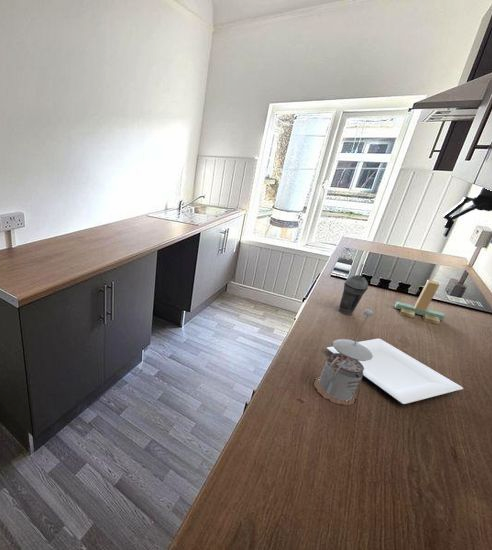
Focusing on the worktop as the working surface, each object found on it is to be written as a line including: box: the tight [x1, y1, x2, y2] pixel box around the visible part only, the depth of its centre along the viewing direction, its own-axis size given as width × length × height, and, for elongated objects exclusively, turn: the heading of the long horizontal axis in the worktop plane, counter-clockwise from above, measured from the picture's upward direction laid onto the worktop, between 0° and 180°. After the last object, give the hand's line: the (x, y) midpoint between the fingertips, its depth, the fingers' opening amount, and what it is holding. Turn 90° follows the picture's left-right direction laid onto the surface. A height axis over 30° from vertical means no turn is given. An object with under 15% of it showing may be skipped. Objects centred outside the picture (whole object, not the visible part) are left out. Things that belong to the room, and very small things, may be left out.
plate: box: [326, 338, 464, 405], centre depth 86 cm, size 22×22×2 cm
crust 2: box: [422, 314, 441, 326], centre depth 113 cm, size 4×4×2 cm
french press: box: [318, 309, 375, 401], centre depth 73 cm, size 10×12×25 cm
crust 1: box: [399, 308, 416, 319], centre depth 116 cm, size 4×4×2 cm
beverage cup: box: [338, 263, 369, 316], centre depth 113 cm, size 7×7×20 cm
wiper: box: [394, 279, 446, 322], centre depth 115 cm, size 14×3×14 cm, turn 52°
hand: (467, 239), depth 121 cm, fingers open, 13 cm apart
